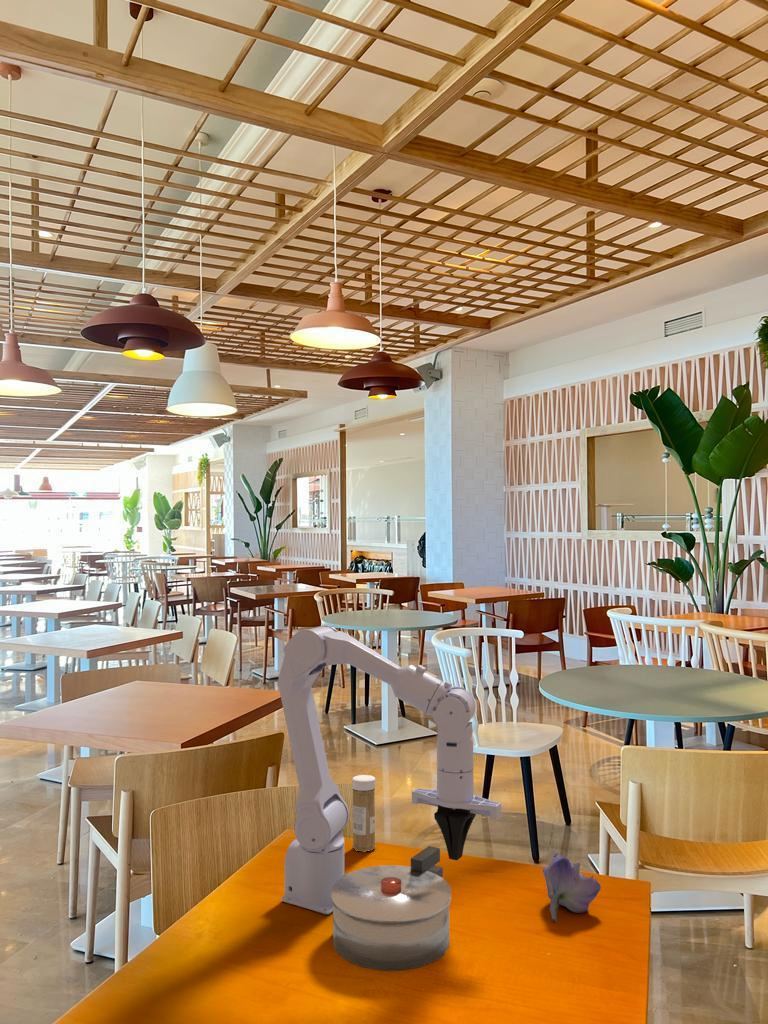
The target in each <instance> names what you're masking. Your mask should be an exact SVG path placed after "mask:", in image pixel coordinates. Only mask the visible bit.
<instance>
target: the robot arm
mask: <svg viewBox="0 0 768 1024" xmlns="http://www.w3.org/2000/svg"><path fill="white" fill-rule="evenodd" d="M283 652H284V653H283V654H284V657H283V660H282V663H281V668H280V671H279V675H278V679H277V685H278V691H279V694H280V699H281V704H282V709H283V715H284V720H285V724H286V729H287V733H288V739H289V743H290V748H291V753H292V757H293V763H294V764H293V765H294V767H295V772H296V778H297V782H298V787H299V788H298V794H297V797H296V801H295V804H294V808H295V815H296V816H295V817H296V818H295V823H294V828H293V829H294V835H295V839H294V840H293V841H292V842H291V843H290V844H289V846H288V848H287V851H286V853H285V857H284V895H283V896H282V897H281V902H284V903H287V904H290V905H293V906H294V905H295V906H297V907H300V908H303V909H308V910H311V911H314V912H317V913H320V914H323V915H330V914H331V913H333V903H332V900H331V889H332V886H333V884H334V883H335V882H336V881H337V880H338V879H339V878H341V877H342V876H344V875H345V838H344V835H343V831H344V828H346V826H347V825H348V823H349V820H350V811H349V807H348V805H347V803H346V802H345V800H344V799H343V797H342V795H341V792H340V788H339V787H340V786H338V784H336V782H335V781H333V779H332V778H331V772H330V769H329V768H330V767H329V763H328V760H327V759H328V758H327V754H326V750H325V744H324V740H323V735H322V729H321V725H320V722H319V721H320V720H319V715H318V712H317V707H316V702H315V697H314V693H313V689H312V688H313V686H312V685H313V684H314V682H315V681H316V679H317V678H318V676H319V675H320V674H321V672H322V671H323V669H324V668H326V667H327V666H332V665H335V666H336V665H345V664H346V665H349V666H352V667H354V668H356V669H357V670H359V671H362V672H364V673H365V674H368V675H370V676H371V677H374V678H375V679H378V680H380V681H382V682H384V683H386V684H387V685H390V687H391V689H392V691H393V694H394V697H395V698H398V699H399V700H401V701H402V702H404V703H406V704H408V705H409V706H411V707H413V708H415V709H417V710H418V711H420V712H421V713H423V714H425V715H427V716H429V717H430V716H432V718H433V721H434V723H435V724H436V726H437V737H436V789H426V788H425V789H424V788H419V787H418V788H415V789H414V790H412V791H411V804H414V805H419V804H420V805H421V804H422V805H425V806H426V805H427V806H431V807H437V810H436V812H434V813H433V815H434V820H435V821H436V822H435V823H436V824H437V825H438V827H439V829H440V831H441V833H442V837H443V840H444V843H445V846H446V851H447V855H448V859H449V860H454V861H459V860H460V858H462V857H463V853H464V848H465V844H466V843H465V842H466V840H467V836H468V833H469V831H470V828H471V825H472V823H473V821H474V820H475V817H476V815H478V816H479V815H480V816H484V817H489V819H492V820H497V819H499V818H500V817H501V816H502V803H501V802H497V801H493V800H491V799H488V798H484V797H481V796H478V795H475V793H474V792H475V791H474V784H475V783H474V738H473V733H474V732H473V731H474V730H473V729H474V728H473V722H472V719H473V717H474V715H475V713H476V708H477V707H476V702H475V699H474V697H473V695H472V694H471V693H470V692H469V691H468V690H466V689H465V688H464V687H463V686H452V685H453V683H452V682H450V681H449V680H446V681H445V682H444V681H442V680H441V679H439V678H437V677H435V676H434V675H431V674H429V673H428V672H426V670H427V667H425V666H423V665H421V664H418V665H417V666H416V665H414V664H409V665H405V666H403V667H401V666H400V665H398V664H396V663H395V662H393V661H391V660H390V659H388V658H386V657H385V656H383V655H381V654H380V653H378V652H377V651H375V650H373V649H372V648H371V647H369V646H367V645H366V644H364V643H362V642H360V641H359V640H358V639H356V638H354V637H353V636H351V635H350V634H348V633H347V632H345V631H342V630H339V631H338V630H337V629H336V628H335V627H333V626H330V625H327V624H324V625H319V626H317V627H314V628H309V629H301V630H298V631H297V632H295V633H294V634H293V635H292V636H291V638H290V639H289V640H288V642H287V643H286V644H285V645H284V646H283Z"/></svg>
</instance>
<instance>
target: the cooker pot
mask: <svg viewBox="0 0 768 1024" xmlns="http://www.w3.org/2000/svg"><path fill="white" fill-rule="evenodd" d="M443 868H444V867H443V866H440V865H437V864H435V865H434V866H433V867H431V868H430V869H429V870H427V871H429V872H432V873H434V874H436V875H438V876H440V877H442V878H443V877H444V871H443V870H444V869H443ZM332 925H333V926H332V932H333V933H332V934H333V935H332V943H333V948H334V950H335V951H336V953H337V954H338V955H339V956H341V957H342V958H343V959H344V960H345V961H348V962H350V963H352V964H353V965H356V966H359V967H361V968H362V967H363V968H365V969H369V970H370V969H371V970H376V971H385V972H386V971H387V972H390V971H391V972H394V971H395V972H397V971H407V970H413V969H417V968H421V967H424V966H427V965H430V964H431V963H433V962H437V960H439V959H440V958H441V957H443V956H444V955H445V953H446V952H447V951H448V949H449V947H450V905H449V906H448V907H447V908H446V909H445V910H444V911H442V912H441V913H439V914H438V915H436V916H434V917H431V918H429V919H426V920H422V921H418V922H413V923H406V924H377V923H370V922H365V921H361V920H357V919H354V918H351V917H349V916H347V915H345V914H343V913H342V912H340V911H339V910H338V909H337V908H336V907H335V906H334V905H333V912H332Z"/></svg>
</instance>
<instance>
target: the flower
mask: <svg viewBox="0 0 768 1024" xmlns="http://www.w3.org/2000/svg"><path fill="white" fill-rule="evenodd" d="M558 853H559V850H554V851H553V854H552V856H551V860H550V862H549V863H548V866H547V865H545V866H544V867H543V868H542V873H543V877H544V880H545V883H546V884H545V885H546V889H547V897H548V899H549V900H550V903H549V912H550V914H551V920H552V922H553V923H554V924H556V923H557V921H558V915H557V914H558V911H559V908H560V906H561V907H565V908H567V909H568V910H569V911H570V912H572V913H577V914H581V913H585V912H587V911H588V910H589V907H590V904H591V903H592V902H593V901H594V900H595V899H596V897H597V896H598V894H599V893H600V891H601V888H602V887H601V886H602V885H601V884H600V882H599V881H598V879H597V878H595V876H594V875H591V876H590V877H589V876H585V875H584V874H582V873H581V872H580V867H581V863H580V861H579V862H574V863H571V861H570V859H568V858H567V856H566V855H565V853H563V854H562V855H561V854H558Z"/></svg>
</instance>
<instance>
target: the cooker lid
mask: <svg viewBox="0 0 768 1024" xmlns="http://www.w3.org/2000/svg"><path fill="white" fill-rule="evenodd" d="M439 862H441V848H440V847H435V846H432V845H428V846H426V847H425V848H424V849H422V850H421V851H420V852H417V853H416V854H415V855H414V856H412V857H411V858H410V866H408V865H397V864H396V865H395V864H394V865H392V864H390V865H388V864H387V865H385V864H384V865H375V866H368V867H364V868H358V869H356V870H353V871H351V872H348V873H346V874H344V876H342V877H341V878H339V879H338V880H337V881H336V882H335V883H334V884H333V886H332V889H331V900H332V903H333V905H334V906H335V907H336V908H337V909H338V910H339V911H340V912H342V913H343V914H345V915H347V916H349V917H351V918H354V919H357V920H361V921H365V922H370V923H377V924H406V923H413V922H418V921H422V920H426V919H429V918H431V917H434V916H436V915H438V914H439V913H441V912H442V911H444V910H445V909H446V908H447V907H448V906H449V907H450V904H451V901H452V888H451V885H450V884H449V883H448V882H447V880H445V879H444V878H443V877H440V876H438V875H436V874H434V873H432V872H429V871H427V870H429V869H430V868H431V867H433V866H434V865H437V864H438V863H439Z"/></svg>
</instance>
